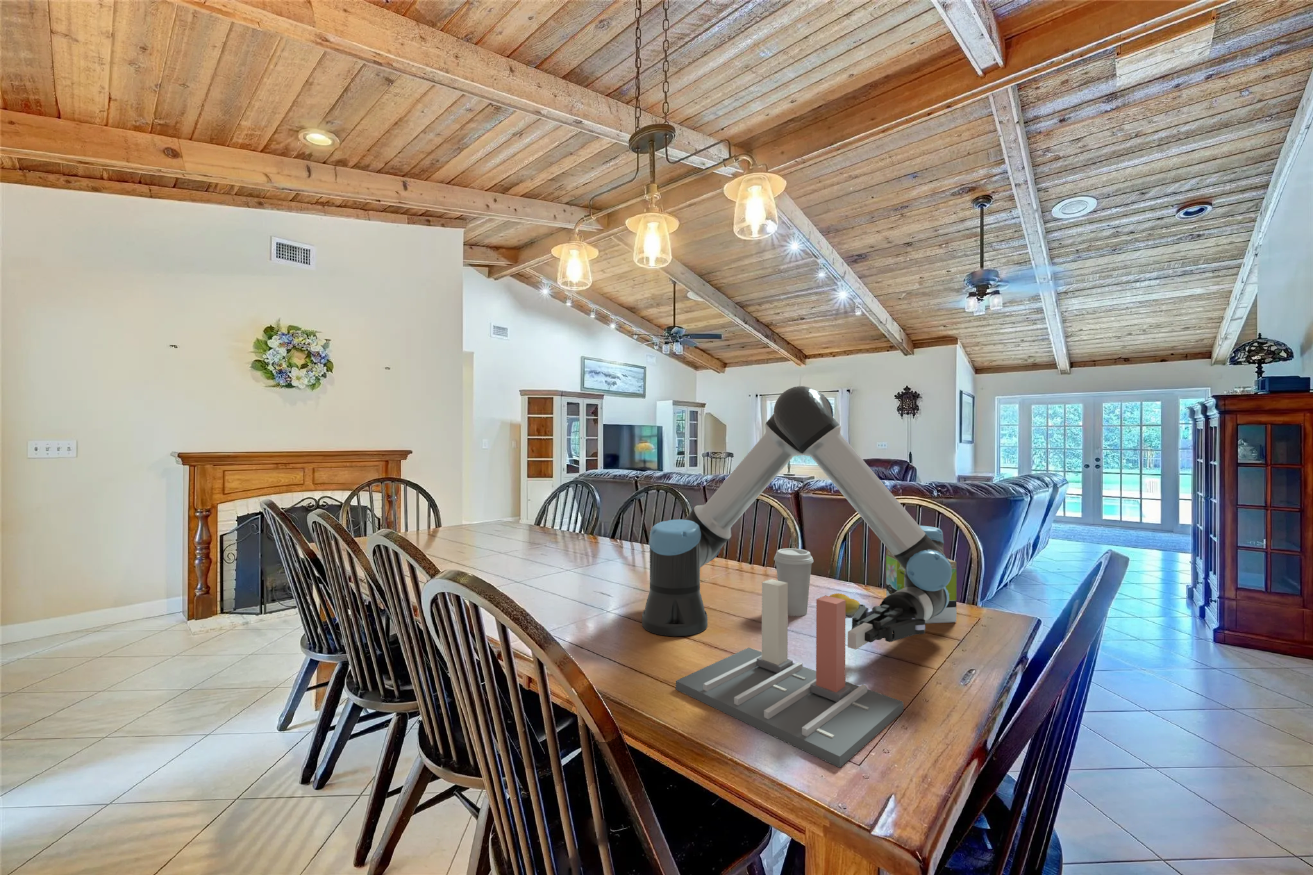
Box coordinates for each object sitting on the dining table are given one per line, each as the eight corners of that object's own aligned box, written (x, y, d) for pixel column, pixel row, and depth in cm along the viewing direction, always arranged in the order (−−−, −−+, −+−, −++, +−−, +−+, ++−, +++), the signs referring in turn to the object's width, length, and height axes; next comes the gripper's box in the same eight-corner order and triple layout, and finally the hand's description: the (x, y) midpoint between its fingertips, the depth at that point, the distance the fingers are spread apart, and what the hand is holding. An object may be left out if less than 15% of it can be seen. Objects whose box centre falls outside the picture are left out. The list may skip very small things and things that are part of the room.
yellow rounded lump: (842, 619, 128) (842, 602, 128) (818, 607, 136) (818, 592, 136) (869, 615, 131) (869, 598, 131) (845, 604, 139) (845, 588, 139)
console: (675, 689, 92) (675, 674, 92) (748, 654, 106) (748, 642, 106) (839, 767, 70) (839, 748, 70) (903, 710, 85) (903, 695, 85)
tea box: (884, 604, 139) (884, 547, 139) (921, 603, 140) (921, 547, 140) (917, 624, 124) (917, 561, 124) (958, 623, 125) (958, 560, 125)
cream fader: (756, 665, 97) (756, 581, 97) (769, 658, 100) (769, 577, 100) (780, 674, 93) (780, 587, 93) (792, 667, 96) (792, 583, 96)
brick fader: (810, 691, 87) (810, 598, 87) (822, 683, 90) (823, 593, 90) (839, 702, 83) (839, 605, 83) (851, 694, 86) (851, 600, 86)
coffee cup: (815, 619, 127) (815, 556, 127) (774, 616, 129) (774, 554, 129) (811, 607, 136) (811, 548, 136) (773, 604, 138) (773, 546, 138)
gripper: (940, 636, 103) (889, 674, 87) (873, 620, 113) (817, 651, 96) (940, 598, 103) (890, 628, 87) (874, 584, 113) (817, 609, 96)
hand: (851, 640), depth 92 cm, fingers closed
